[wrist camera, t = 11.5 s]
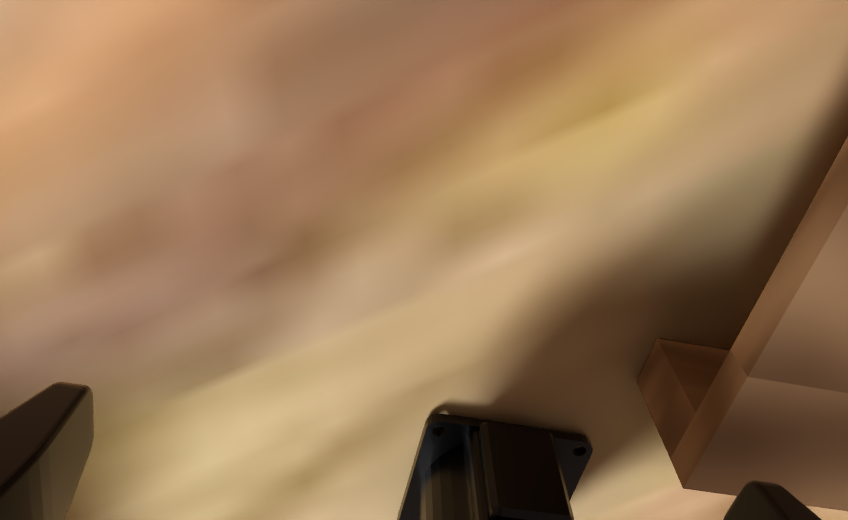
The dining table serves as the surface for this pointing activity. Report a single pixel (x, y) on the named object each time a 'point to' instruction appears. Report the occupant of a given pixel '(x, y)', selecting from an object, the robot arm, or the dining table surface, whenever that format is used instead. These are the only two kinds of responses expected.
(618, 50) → the dining table surface
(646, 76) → the dining table surface
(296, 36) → the dining table surface
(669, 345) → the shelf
